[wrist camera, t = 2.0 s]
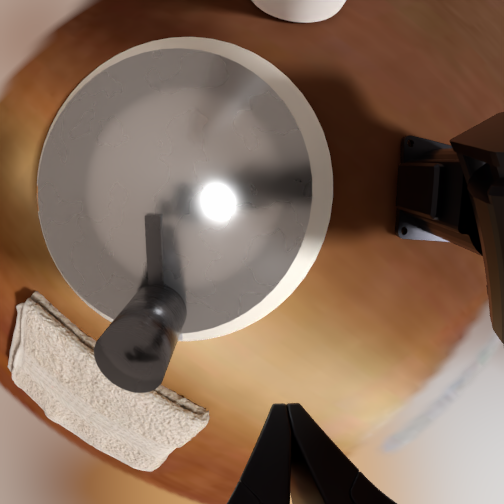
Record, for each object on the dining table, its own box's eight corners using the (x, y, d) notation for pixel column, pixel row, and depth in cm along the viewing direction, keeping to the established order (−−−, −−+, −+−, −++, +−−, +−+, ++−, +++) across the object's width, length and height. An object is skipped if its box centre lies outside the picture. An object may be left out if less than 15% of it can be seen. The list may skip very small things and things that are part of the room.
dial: (58, 80, 12) (-10, 56, 6) (309, 60, 13) (345, 1, 7) (66, 309, 16) (11, 360, 10) (295, 325, 17) (316, 400, 11)
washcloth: (34, 279, 18) (11, 294, 15) (217, 405, 21) (214, 433, 18) (16, 363, 21) (0, 379, 18) (158, 458, 24) (152, 480, 21)
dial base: (328, 52, 14) (336, 41, 12) (311, 332, 19) (316, 347, 17) (57, 71, 14) (43, 65, 12) (66, 316, 18) (54, 327, 17)
